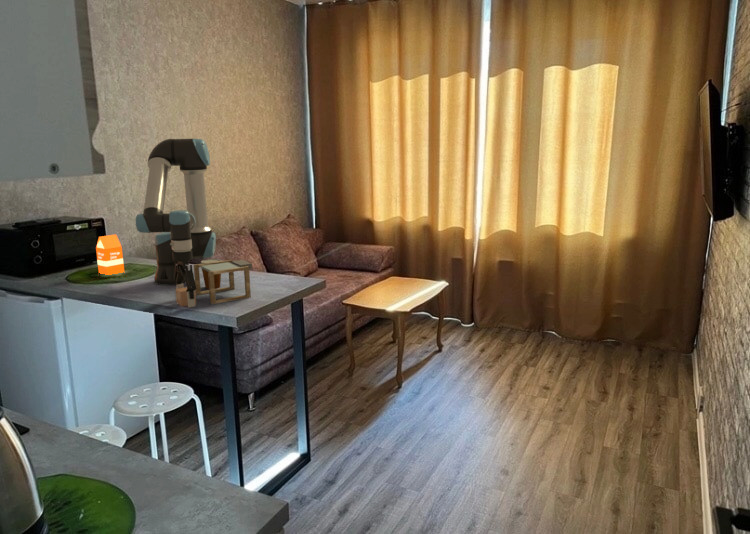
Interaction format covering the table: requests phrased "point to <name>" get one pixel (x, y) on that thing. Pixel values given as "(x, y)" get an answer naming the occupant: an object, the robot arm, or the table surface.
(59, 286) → the table surface
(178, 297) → the block
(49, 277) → the table surface
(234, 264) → the trapdoor
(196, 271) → the frame
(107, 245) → the orange juice
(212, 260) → the disposable coffee cup
